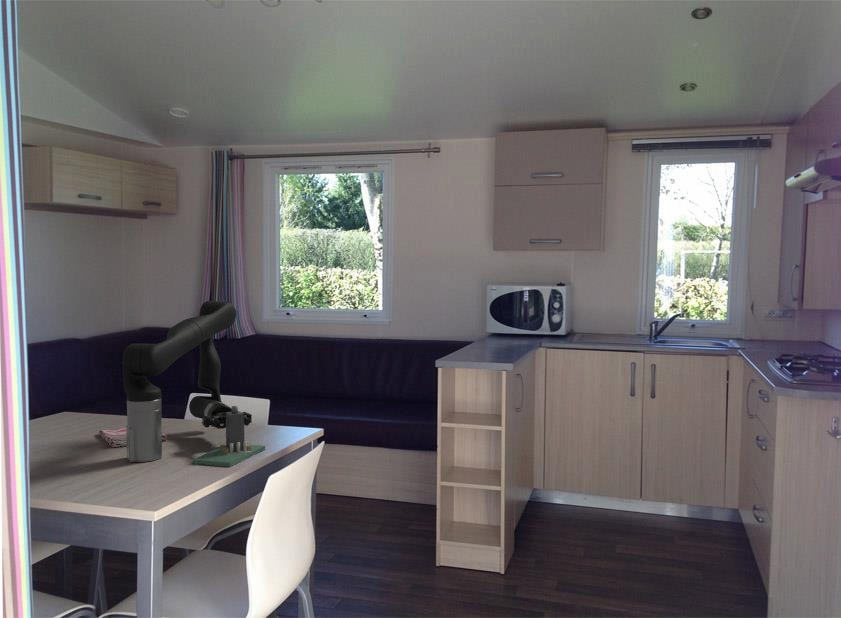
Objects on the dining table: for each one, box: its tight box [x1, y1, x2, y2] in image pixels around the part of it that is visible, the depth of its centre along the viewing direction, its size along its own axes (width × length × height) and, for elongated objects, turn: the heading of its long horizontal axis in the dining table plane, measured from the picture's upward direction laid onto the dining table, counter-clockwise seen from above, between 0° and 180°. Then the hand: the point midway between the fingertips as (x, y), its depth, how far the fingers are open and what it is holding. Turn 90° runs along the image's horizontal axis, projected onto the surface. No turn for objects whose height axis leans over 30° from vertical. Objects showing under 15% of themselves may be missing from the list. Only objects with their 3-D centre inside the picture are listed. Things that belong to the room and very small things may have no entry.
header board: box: [191, 441, 266, 468], centre depth 203 cm, size 20×12×4 cm, turn 165°
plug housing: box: [225, 405, 245, 452], centre depth 206 cm, size 4×5×13 cm
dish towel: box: [98, 427, 168, 448], centre depth 227 cm, size 17×23×4 cm
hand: (233, 423), depth 208 cm, fingers open, 8 cm apart
